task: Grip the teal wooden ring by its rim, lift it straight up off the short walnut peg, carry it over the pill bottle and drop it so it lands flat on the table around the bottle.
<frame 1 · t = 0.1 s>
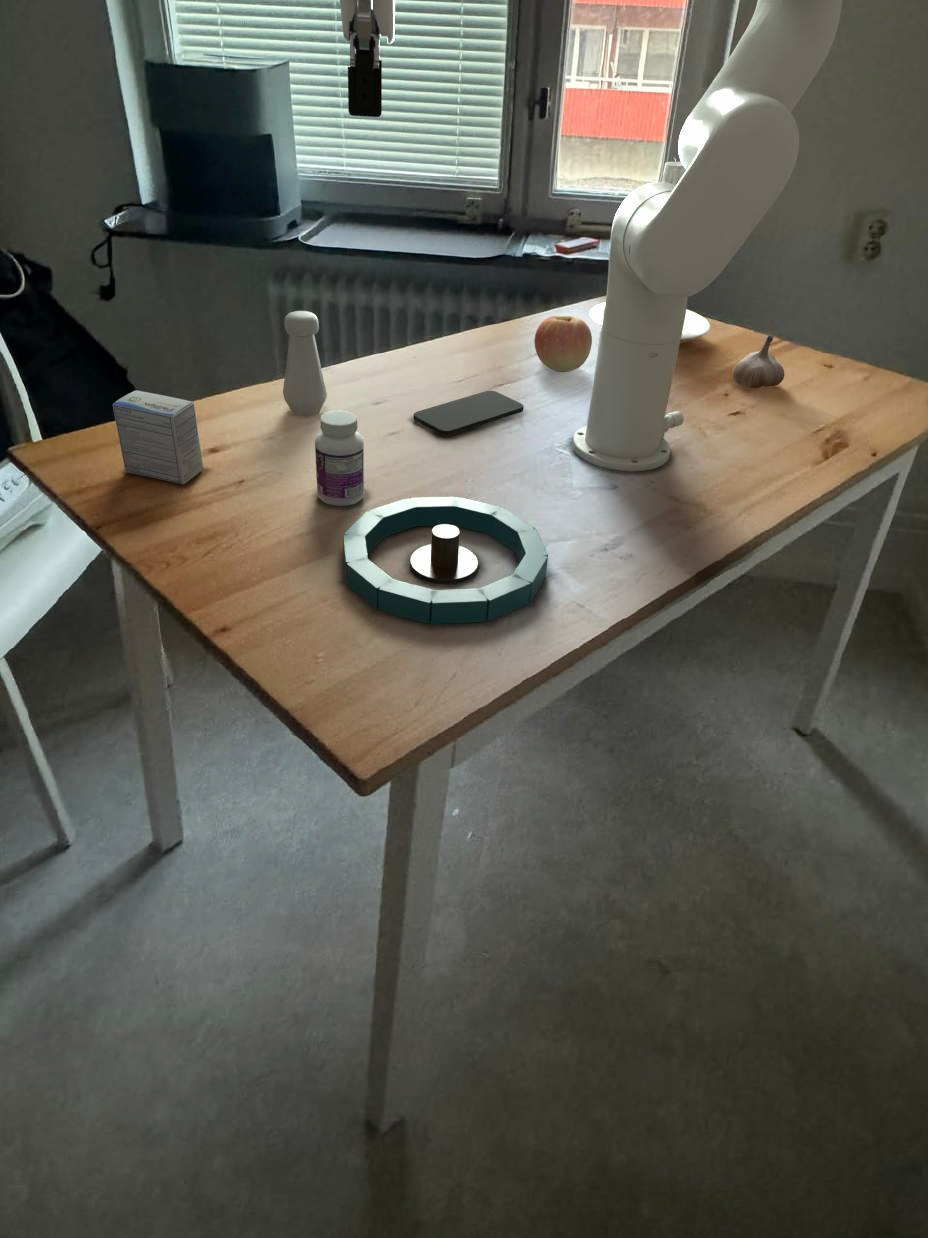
hand: (365, 109, 90), 37 cm above the table, tool pointing down, fingers open, 9 cm apart
peg stand: (444, 564, 91), on the table
pill bottle: (340, 497, 101), on the table
apple: (559, 369, 139), on the table
medicine box: (165, 473, 103), on the table
phone: (469, 416, 122), on the table
garlic bulb: (754, 386, 138), on the table
ring: (444, 564, 91), on the table
candlestick: (639, 340, 152), on the table
salt shaker: (305, 411, 120), on the table
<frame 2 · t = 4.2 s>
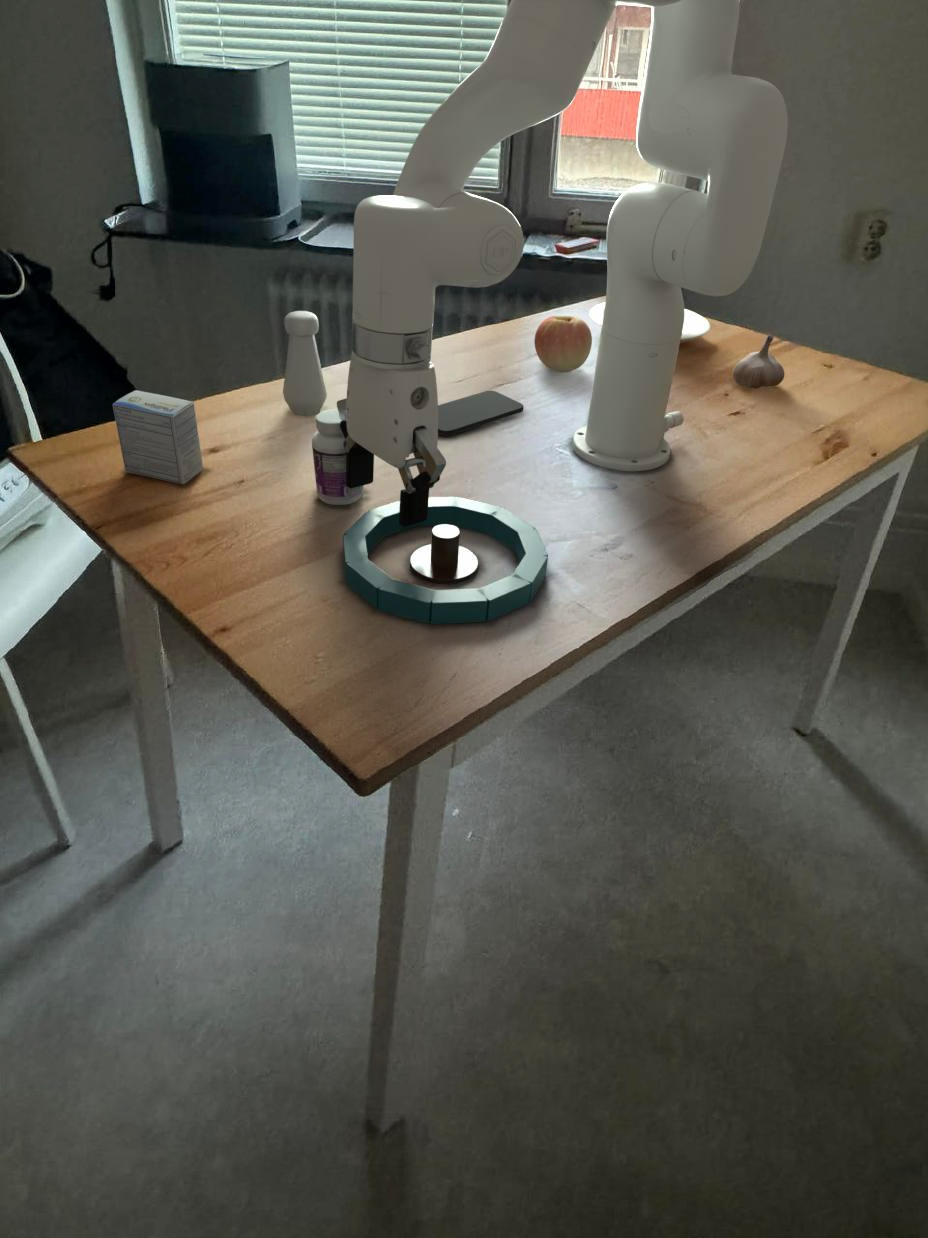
hand: (385, 503, 93), 3 cm above the table, tool pointing down, fingers open, 9 cm apart
pill bottle: (340, 497, 101), on the table, touching gripper
everything else where it was.
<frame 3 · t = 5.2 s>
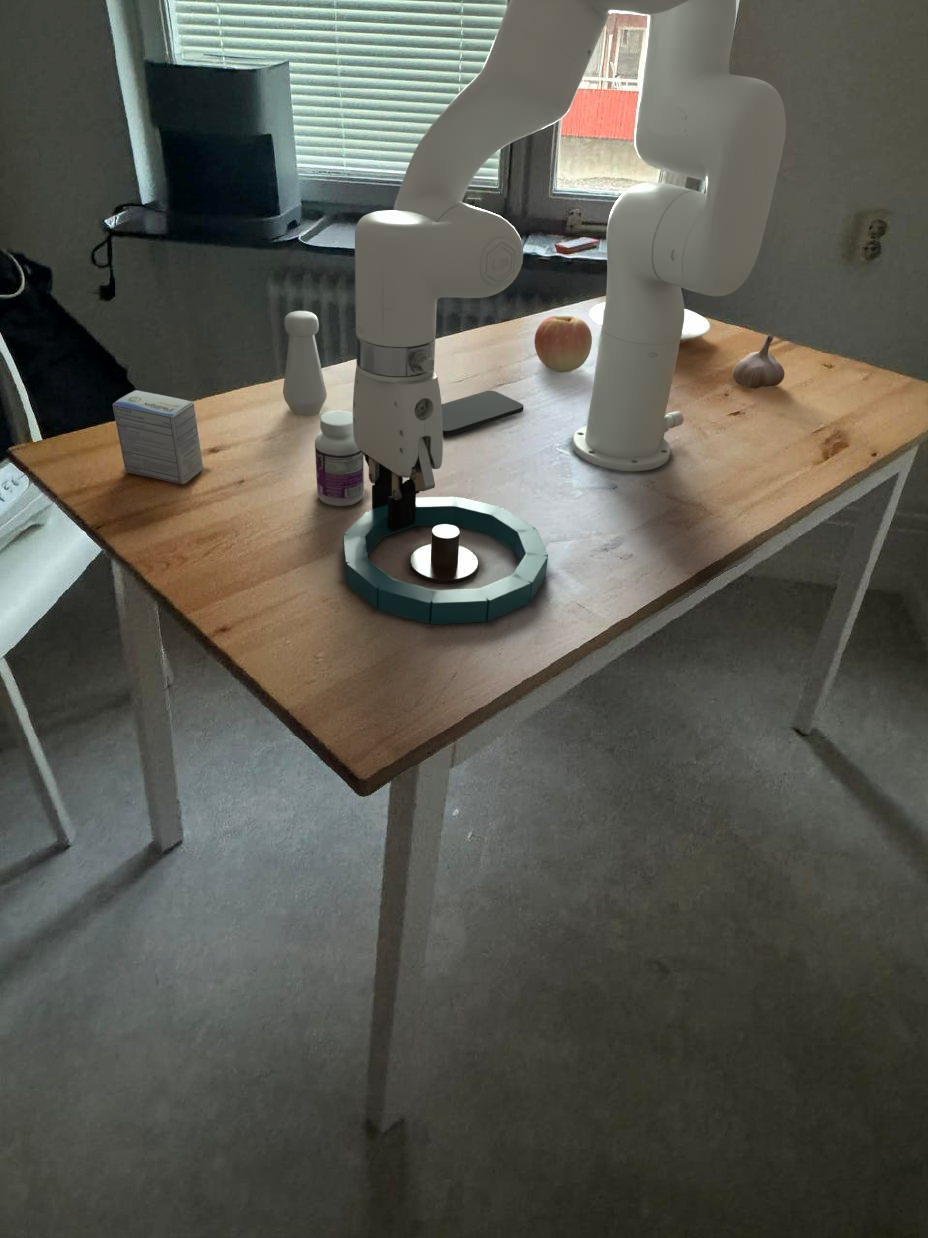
hand: (393, 519, 96), 1 cm above the table, tool pointing down, fingers closed on ring, 2 cm apart
pill bottle: (340, 497, 101), on the table
ring: (444, 564, 91), on the table, touching gripper
everything else where it was.
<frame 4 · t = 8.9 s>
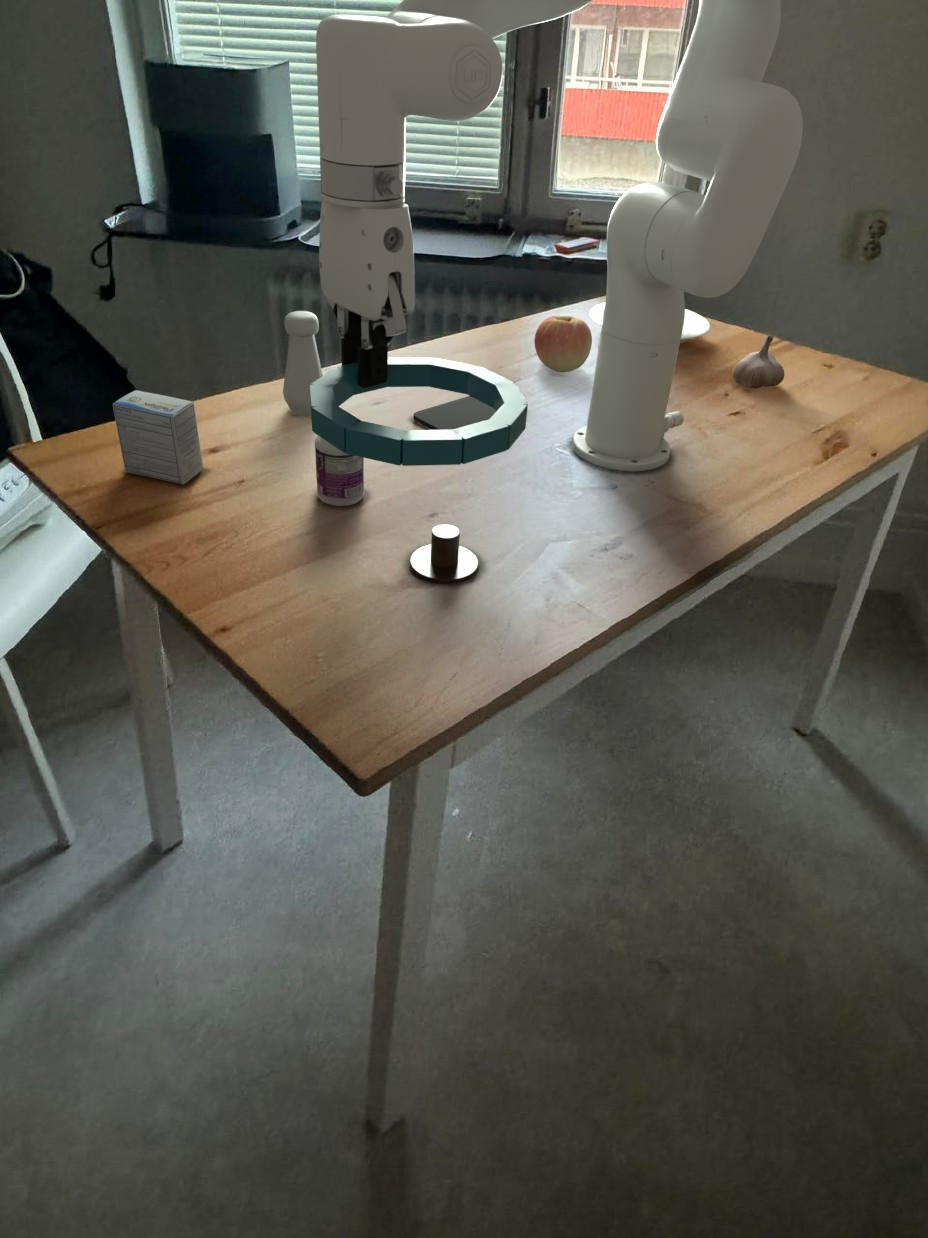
hand: (364, 378, 90), 15 cm above the table, tool pointing down, fingers closed on ring
ring: (417, 418, 85), point 14 cm above the table, touching gripper
everything else where it was.
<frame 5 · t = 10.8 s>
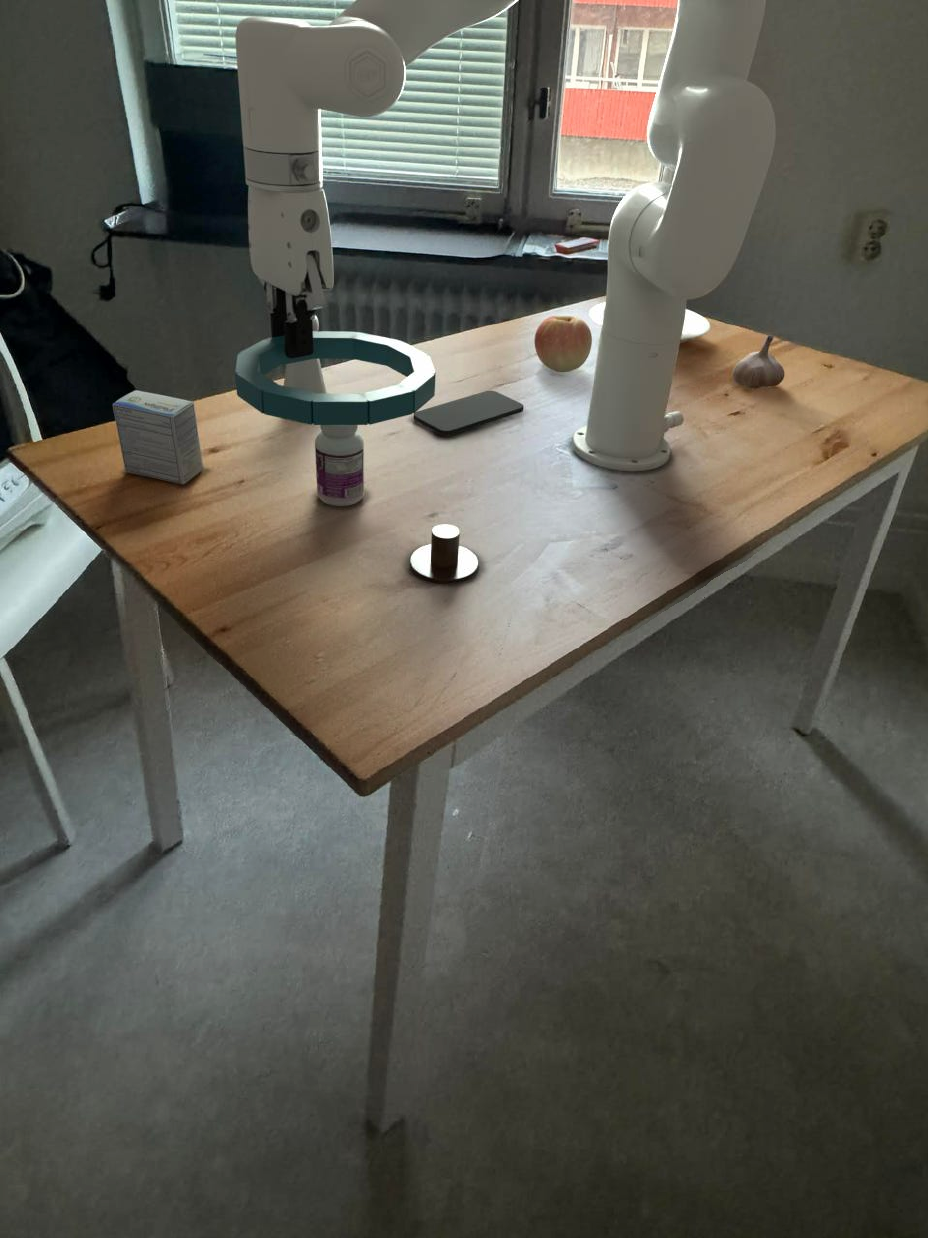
hand: (292, 350, 98), 14 cm above the table, tool pointing down, fingers closed on ring
ring: (336, 385, 93), point 13 cm above the table, touching gripper
everything else where it was.
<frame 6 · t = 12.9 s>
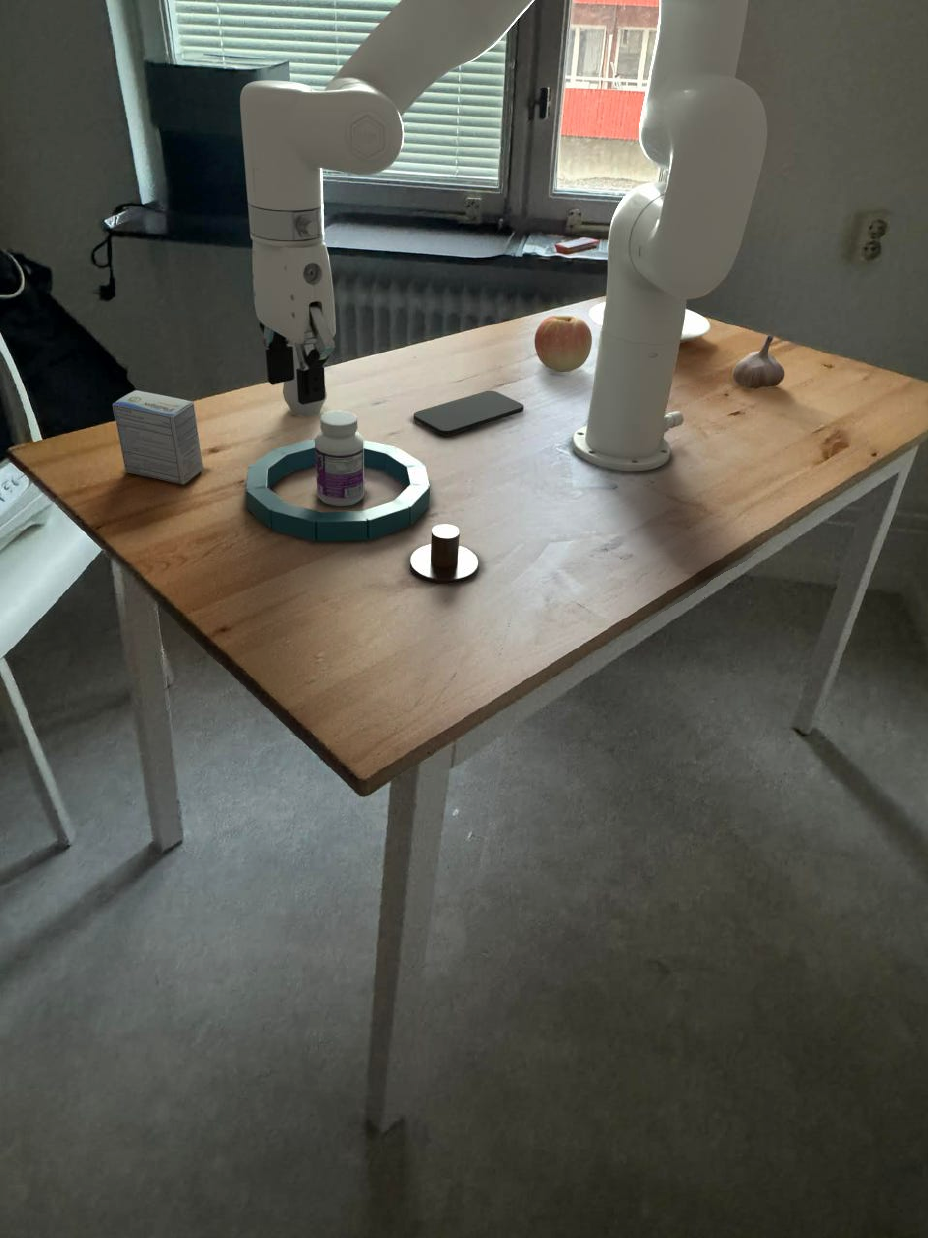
hand: (296, 389, 101), 10 cm above the table, tool pointing down, fingers open, 6 cm apart
ring: (339, 495, 101), on the table
everything else where it was.
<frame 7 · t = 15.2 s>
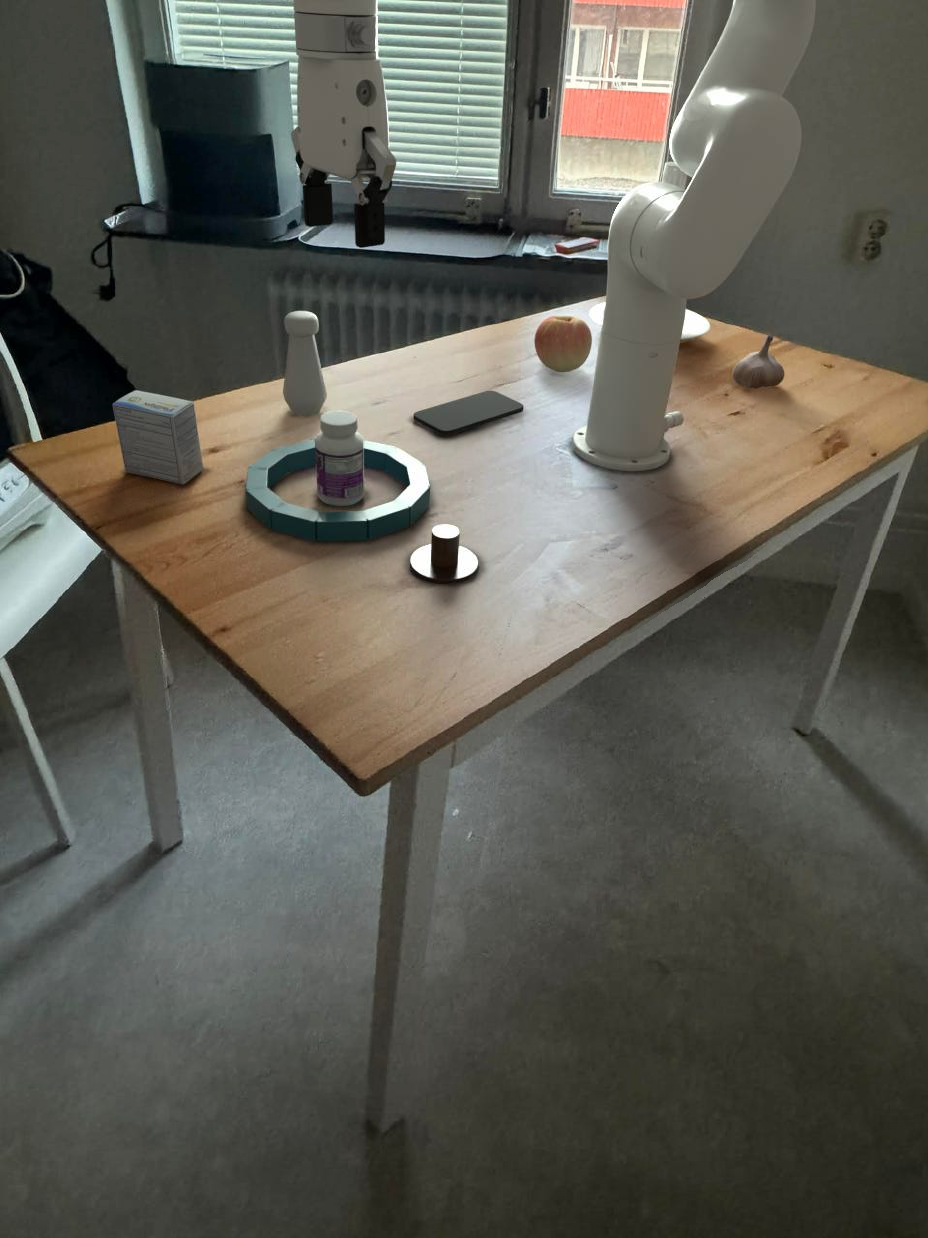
hand: (343, 234, 92), 26 cm above the table, tool pointing down, fingers open, 9 cm apart
nothing on the table moved.
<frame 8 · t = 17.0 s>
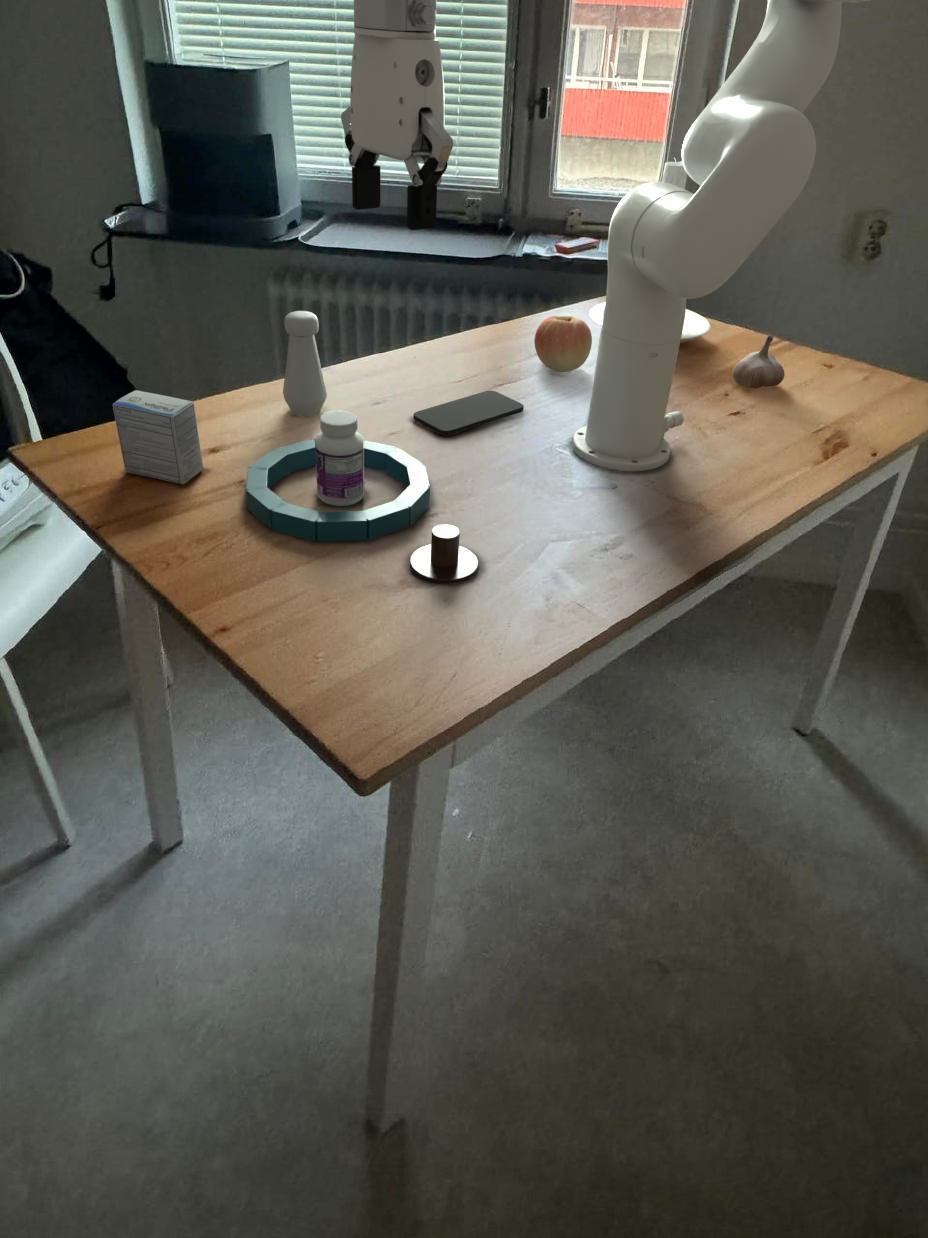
hand: (393, 217, 91), 28 cm above the table, tool pointing down, fingers open, 9 cm apart
nothing on the table moved.
at the end: ring 0.3 cm from the pill bottle (horizontally); ring on the table; pill bottle tilted 0° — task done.
